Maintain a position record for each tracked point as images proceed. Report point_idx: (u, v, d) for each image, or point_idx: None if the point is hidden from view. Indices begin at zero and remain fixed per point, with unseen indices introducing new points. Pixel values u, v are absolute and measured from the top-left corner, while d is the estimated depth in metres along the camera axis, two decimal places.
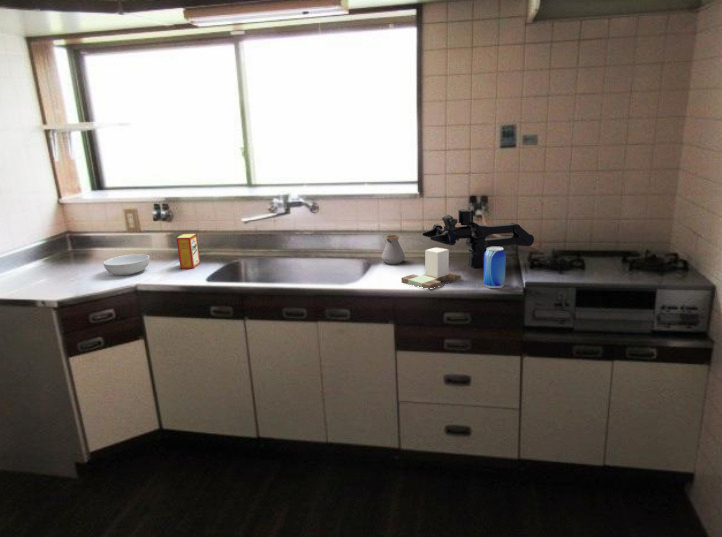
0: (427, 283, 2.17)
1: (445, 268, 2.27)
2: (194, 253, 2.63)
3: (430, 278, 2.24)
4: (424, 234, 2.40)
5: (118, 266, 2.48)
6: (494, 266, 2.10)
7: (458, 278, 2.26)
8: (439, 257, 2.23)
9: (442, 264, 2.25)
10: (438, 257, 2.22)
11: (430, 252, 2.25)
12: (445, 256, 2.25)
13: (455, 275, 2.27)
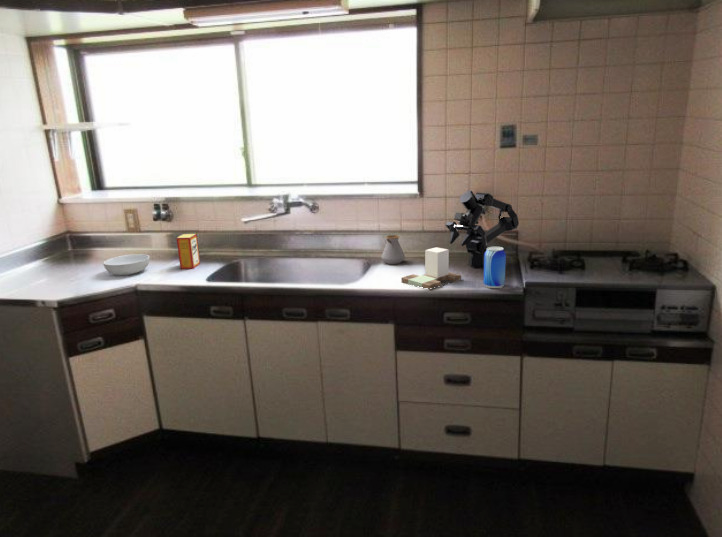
0: (427, 283, 2.17)
1: (445, 268, 2.27)
2: (194, 253, 2.63)
3: (430, 278, 2.24)
4: (451, 242, 2.36)
5: (118, 266, 2.48)
6: (494, 266, 2.10)
7: (458, 278, 2.26)
8: (439, 257, 2.23)
9: (442, 264, 2.25)
10: (438, 257, 2.22)
11: (430, 252, 2.25)
12: (445, 256, 2.25)
13: (455, 275, 2.27)
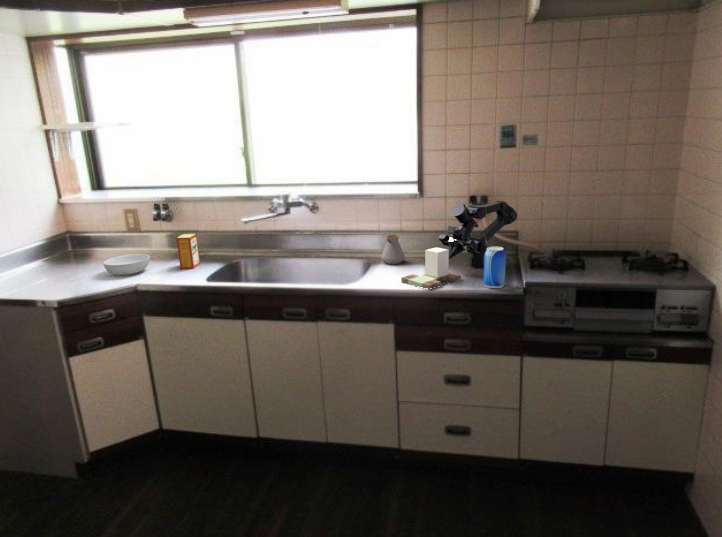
0: (427, 283, 2.17)
1: (445, 268, 2.27)
2: (194, 253, 2.63)
3: (430, 278, 2.24)
4: None
5: (118, 266, 2.48)
6: (494, 266, 2.10)
7: (458, 278, 2.26)
8: (439, 257, 2.23)
9: (442, 264, 2.25)
10: (438, 257, 2.22)
11: (430, 252, 2.25)
12: (445, 256, 2.25)
13: (455, 275, 2.27)
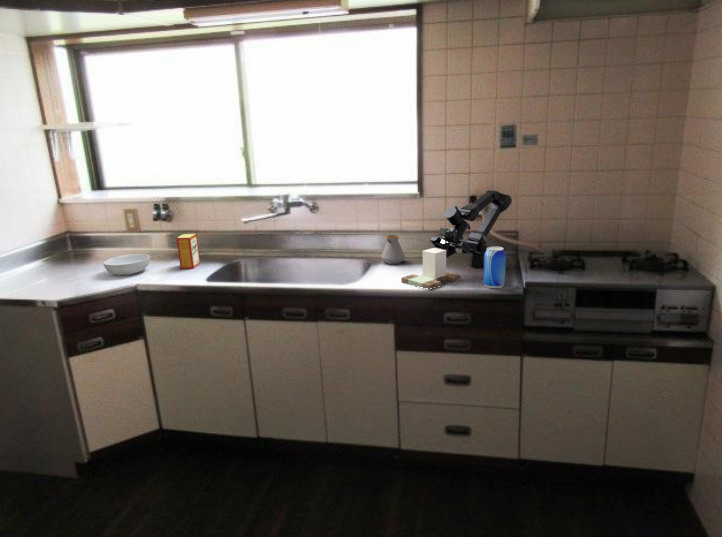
0: (427, 283, 2.17)
1: (443, 269, 2.26)
2: (194, 253, 2.63)
3: (430, 278, 2.24)
4: None
5: (118, 266, 2.48)
6: (494, 266, 2.10)
7: (458, 278, 2.26)
8: (436, 258, 2.22)
9: (439, 265, 2.24)
10: (435, 258, 2.21)
11: (427, 253, 2.24)
12: (443, 257, 2.24)
13: (455, 275, 2.27)
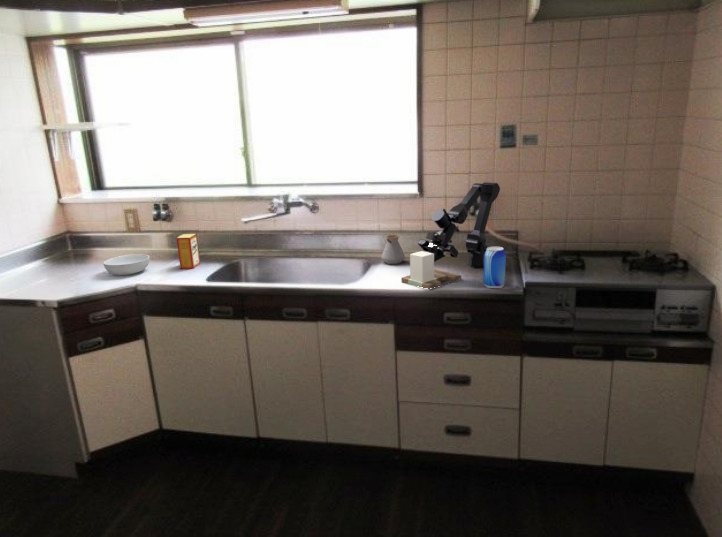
0: (427, 283, 2.17)
1: (430, 273, 2.21)
2: (194, 253, 2.63)
3: None
4: None
5: (118, 266, 2.48)
6: (494, 266, 2.10)
7: (458, 278, 2.26)
8: (424, 262, 2.17)
9: (427, 268, 2.19)
10: (423, 262, 2.17)
11: (415, 256, 2.19)
12: (431, 260, 2.20)
13: (455, 275, 2.27)
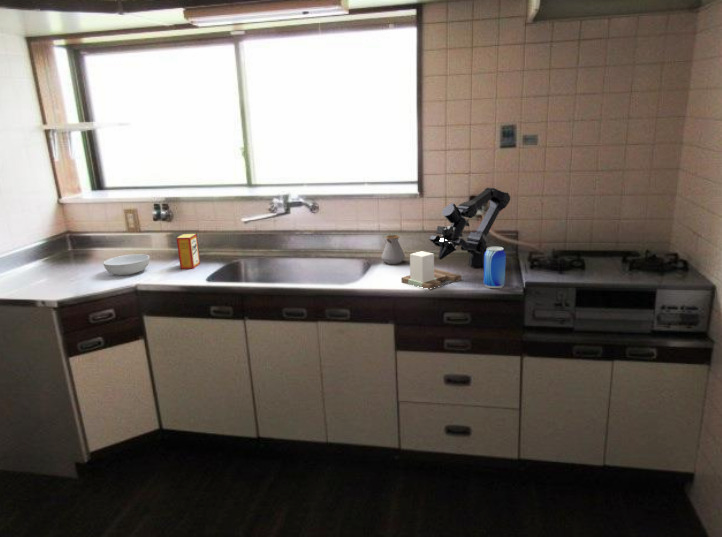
0: (427, 283, 2.17)
1: (430, 273, 2.21)
2: (194, 253, 2.63)
3: None
4: None
5: (118, 266, 2.48)
6: (494, 266, 2.10)
7: (458, 278, 2.26)
8: (424, 262, 2.17)
9: (427, 268, 2.19)
10: (423, 262, 2.17)
11: (415, 256, 2.19)
12: (431, 260, 2.20)
13: (455, 275, 2.27)
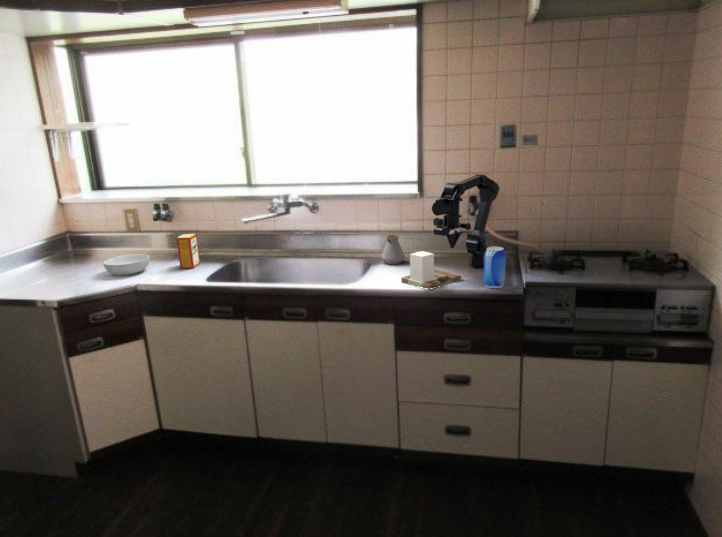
0: (427, 283, 2.17)
1: (430, 273, 2.21)
2: (194, 253, 2.63)
3: None
4: None
5: (118, 266, 2.48)
6: (494, 266, 2.10)
7: (458, 278, 2.26)
8: (424, 262, 2.17)
9: (427, 268, 2.19)
10: (423, 262, 2.17)
11: (415, 256, 2.19)
12: (431, 260, 2.20)
13: (455, 275, 2.27)
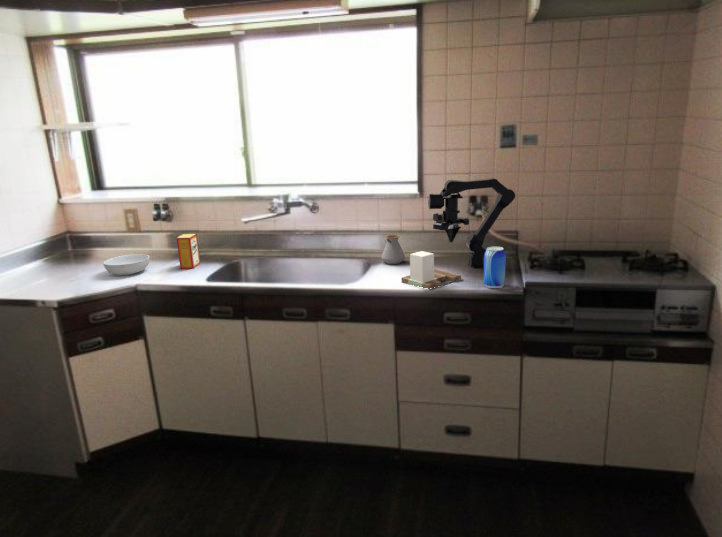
0: (427, 283, 2.17)
1: (430, 273, 2.21)
2: (194, 253, 2.63)
3: None
4: None
5: (118, 266, 2.48)
6: (494, 266, 2.10)
7: (458, 278, 2.26)
8: (424, 262, 2.17)
9: (427, 268, 2.19)
10: (423, 262, 2.17)
11: (415, 256, 2.19)
12: (431, 260, 2.20)
13: (455, 275, 2.27)
